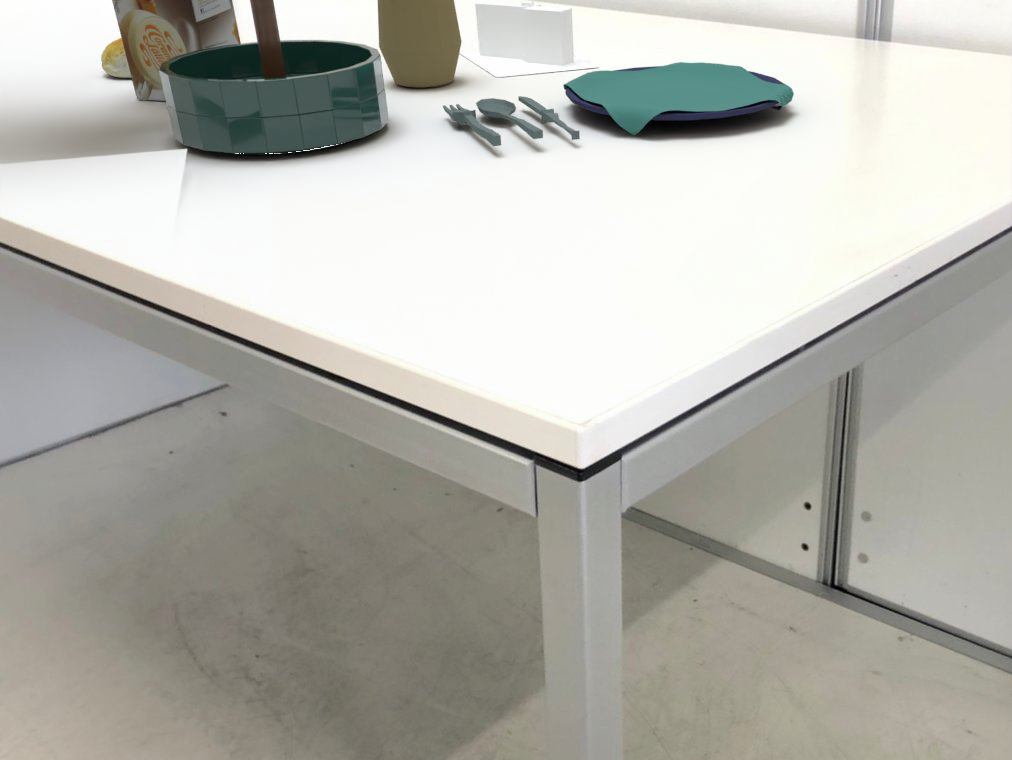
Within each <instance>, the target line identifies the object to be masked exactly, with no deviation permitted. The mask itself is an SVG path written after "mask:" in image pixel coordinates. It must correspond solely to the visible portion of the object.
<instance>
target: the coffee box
mask: <svg viewBox="0 0 1012 760" xmlns="http://www.w3.org/2000/svg"><path fill="white" fill-rule="evenodd" d="M111 1H112V2H111V3H112V5H113V10H114V13H115V18H116V21H117V26H118V29H119V30H118V31H119V33H120V38H122V42H123V46H124V50H125V54H126V58H127V62H128V65H129V69H130V73H131V77H132V78H131V82H132V85H133V88H134V89H133V90H134V93H135V97H136V99H137V101H138V100H139V101H143V100H144V101H157V102H158V101H160V102H166V99H165V95H164V90H163V86H162V81H161V77H160V73H159V69H160V66H161V63H163V62H165V61H167V60H169V59H171V58H173V57H175V56H179V55H182V54H186V53H189V52H193V51H197V50H202V49H208V48H213V47H219V46H225V45H233V44H242V42H241V37H240V33H239V27H238V23H237V17H236V13H235V8H234V3H233V2H234V1H233V0H111Z"/></svg>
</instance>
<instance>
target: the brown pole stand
mask: <svg viewBox="0 0 1012 760" xmlns="http://www.w3.org/2000/svg"><path fill="white" fill-rule="evenodd" d="M249 2H250V9H251V14H252V19H253V25H254V31H255V36H256V42H258V48H259V53H260V59H261V64H262V70H263V76H264V79H272V78H286V71H285V65H284V60H283V54H282V48H281V42H280V40H281V37H280V31H279V25H278V20H277V19H278V18H277V13H276V7H275V1H274V0H249Z"/></svg>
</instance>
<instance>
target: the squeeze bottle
mask: <svg viewBox="0 0 1012 760" xmlns="http://www.w3.org/2000/svg"><path fill="white" fill-rule="evenodd" d="M377 24H378V27H377V28H378V48H379V51H380V52H381V56H382V57H383V59H384V62H385V63H386V66H387V68H388V70H389V73H390V75H391V77H392V80H393V81H394V83H395V84H396V85H398V86H402V87H407V88H415V89H416V88H417V89H419V88H420V89H422V88H423V89H424V88H425V89H426V88H434V87H439V86H444V85H447V84H450V83H452V82H454V80H455V76H456V71H457V67H458V62H459V56H460V52H461V47H462V36H461V31H460V26H459V21H458V14H457V10H456V4H455V0H377Z"/></svg>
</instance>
